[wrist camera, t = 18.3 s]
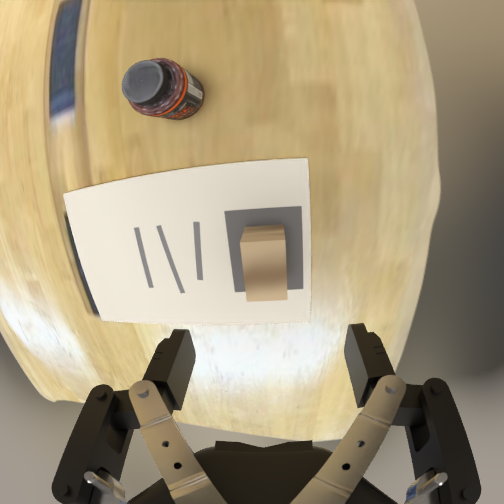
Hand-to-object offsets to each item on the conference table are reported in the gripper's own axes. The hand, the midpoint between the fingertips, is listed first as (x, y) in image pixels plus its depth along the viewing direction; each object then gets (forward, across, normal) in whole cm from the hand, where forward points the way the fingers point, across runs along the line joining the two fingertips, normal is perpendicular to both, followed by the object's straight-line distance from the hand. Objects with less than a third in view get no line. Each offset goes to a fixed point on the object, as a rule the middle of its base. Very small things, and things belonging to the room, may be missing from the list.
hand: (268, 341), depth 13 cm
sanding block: (+20, +1, +4) cm, 21 cm away
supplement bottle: (+23, +9, -16) cm, 29 cm away
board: (+22, +12, +5) cm, 26 cm away
